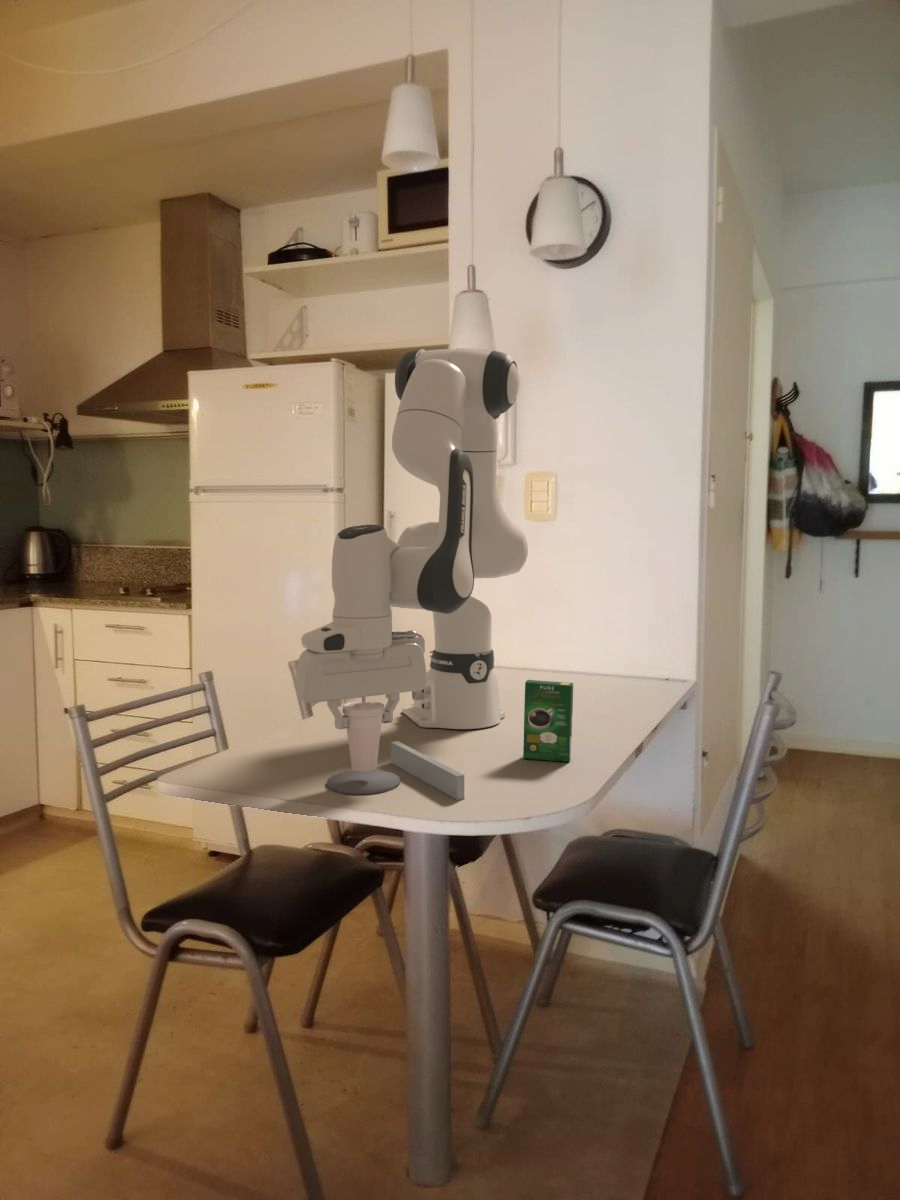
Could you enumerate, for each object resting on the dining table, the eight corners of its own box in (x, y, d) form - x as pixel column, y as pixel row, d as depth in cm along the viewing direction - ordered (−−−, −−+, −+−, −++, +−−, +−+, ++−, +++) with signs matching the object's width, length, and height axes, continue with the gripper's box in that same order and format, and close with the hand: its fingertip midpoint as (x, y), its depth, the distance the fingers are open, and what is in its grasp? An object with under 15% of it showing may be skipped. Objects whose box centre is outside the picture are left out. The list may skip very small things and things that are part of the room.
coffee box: (573, 758, 150) (574, 680, 149) (571, 763, 147) (572, 684, 146) (525, 755, 152) (526, 678, 151) (522, 759, 149) (522, 681, 148)
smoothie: (386, 762, 139) (385, 673, 138) (384, 774, 133) (383, 681, 132) (345, 762, 139) (343, 673, 138) (340, 774, 133) (339, 681, 131)
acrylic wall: (391, 762, 148) (391, 741, 147) (397, 761, 148) (397, 741, 148) (457, 800, 129) (457, 776, 128) (464, 798, 129) (464, 774, 129)
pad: (316, 779, 139) (316, 776, 139) (381, 769, 144) (381, 766, 144) (343, 799, 129) (343, 795, 129) (412, 787, 135) (412, 784, 135)
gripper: (414, 627, 142) (415, 713, 144) (291, 636, 132) (293, 729, 134) (433, 631, 137) (434, 721, 138) (306, 642, 127) (308, 738, 128)
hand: (364, 725), depth 136 cm, fingers closed on smoothie, 6 cm apart
